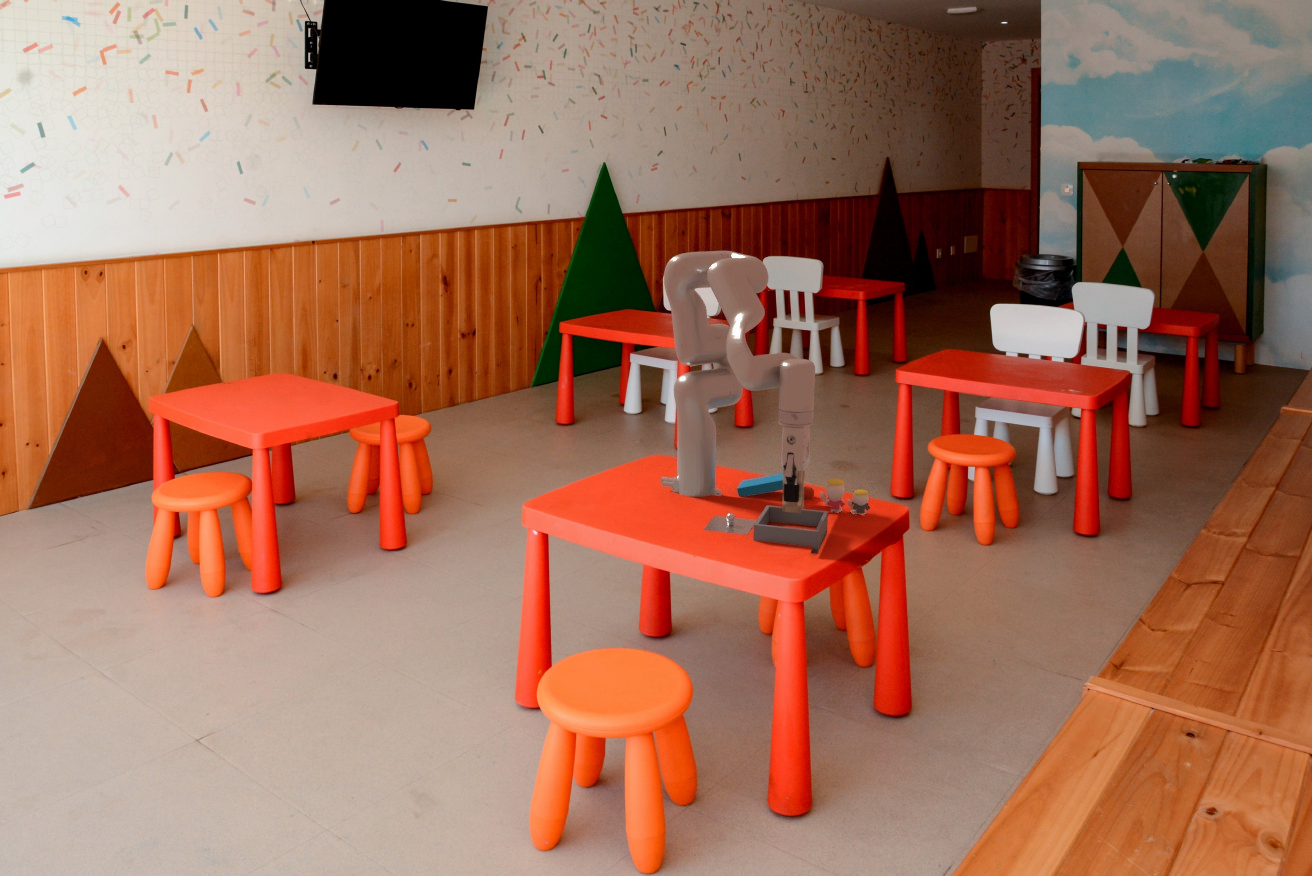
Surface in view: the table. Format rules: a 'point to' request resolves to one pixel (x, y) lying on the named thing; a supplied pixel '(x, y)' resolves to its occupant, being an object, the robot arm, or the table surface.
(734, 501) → the table surface
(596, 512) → the table surface
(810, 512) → the bin
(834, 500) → the toy figures
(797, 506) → the strut
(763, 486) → the lever
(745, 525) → the square lid with knob
